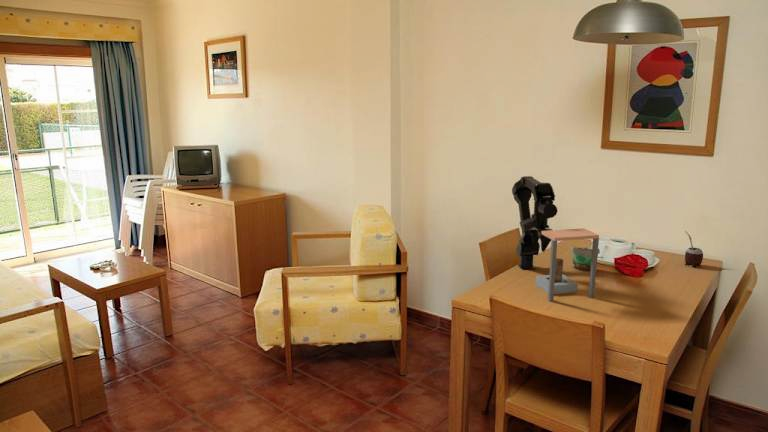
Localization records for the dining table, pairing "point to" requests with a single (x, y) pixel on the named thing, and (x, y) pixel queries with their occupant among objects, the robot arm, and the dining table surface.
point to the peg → (558, 270)
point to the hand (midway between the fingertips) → (539, 248)
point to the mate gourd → (693, 255)
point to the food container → (582, 258)
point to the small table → (549, 280)
